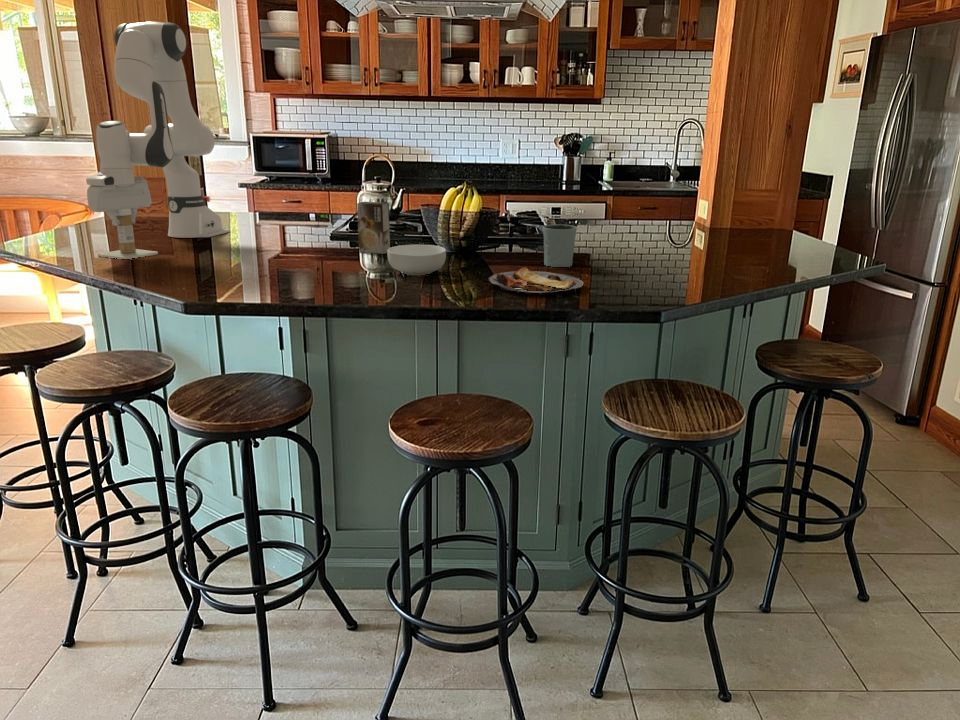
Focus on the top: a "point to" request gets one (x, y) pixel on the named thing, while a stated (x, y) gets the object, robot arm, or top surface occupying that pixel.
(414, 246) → the cereal bowl
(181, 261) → the top surface
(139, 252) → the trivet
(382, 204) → the coffee box
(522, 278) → the food plate
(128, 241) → the sprinkles bottle
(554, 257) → the grey tapered cup
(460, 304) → the top surface
